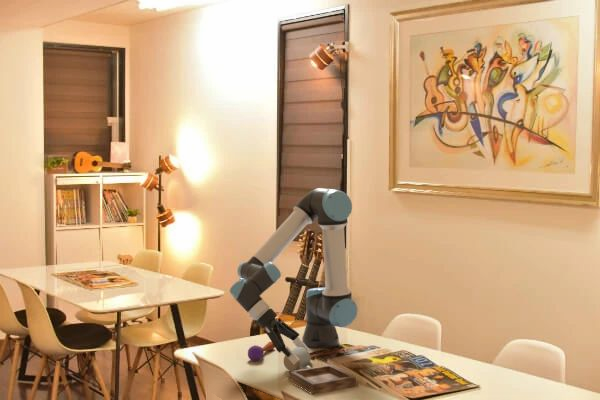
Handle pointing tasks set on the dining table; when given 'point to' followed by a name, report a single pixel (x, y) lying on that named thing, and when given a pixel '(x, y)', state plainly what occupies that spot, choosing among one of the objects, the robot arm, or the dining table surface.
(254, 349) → the purple maraca
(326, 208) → the robot arm
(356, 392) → the dining table surface
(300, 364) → the ceramic mug
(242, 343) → the dining table surface
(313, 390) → the brown wooden tray
